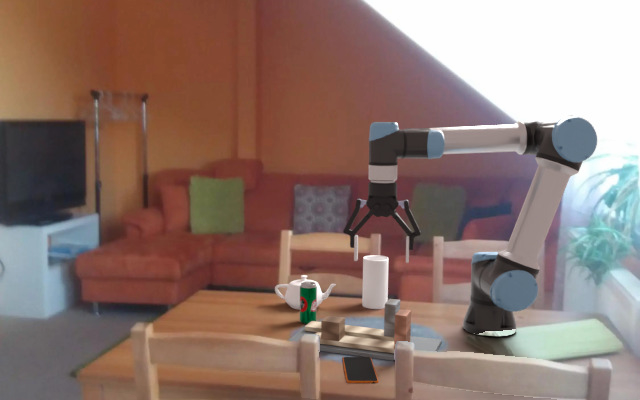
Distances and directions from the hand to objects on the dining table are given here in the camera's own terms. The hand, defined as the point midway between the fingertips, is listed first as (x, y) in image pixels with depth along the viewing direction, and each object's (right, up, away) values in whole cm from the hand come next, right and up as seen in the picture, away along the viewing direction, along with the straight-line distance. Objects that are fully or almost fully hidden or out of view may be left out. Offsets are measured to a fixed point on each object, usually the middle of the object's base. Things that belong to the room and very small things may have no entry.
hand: (381, 261), depth 181 cm
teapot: (-21, -19, +42) cm, 50 cm away
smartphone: (-7, -26, -14) cm, 30 cm away
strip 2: (-6, -22, 0) cm, 23 cm away
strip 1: (-7, -21, +10) cm, 25 cm away
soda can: (-20, -21, +24) cm, 38 cm away
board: (-4, -23, +4) cm, 24 cm away
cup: (+2, -19, +43) cm, 47 cm away
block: (-13, -21, +2) cm, 25 cm away
